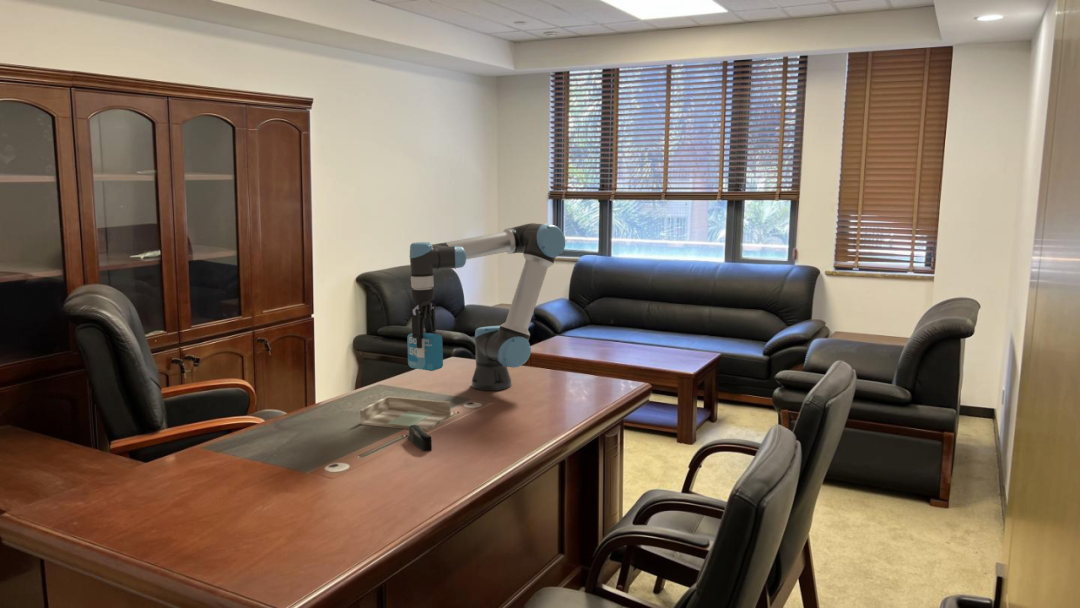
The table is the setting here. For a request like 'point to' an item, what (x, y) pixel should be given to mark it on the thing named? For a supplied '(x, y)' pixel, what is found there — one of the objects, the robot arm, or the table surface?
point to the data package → (426, 352)
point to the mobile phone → (420, 438)
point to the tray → (405, 413)
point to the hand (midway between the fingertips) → (425, 355)
